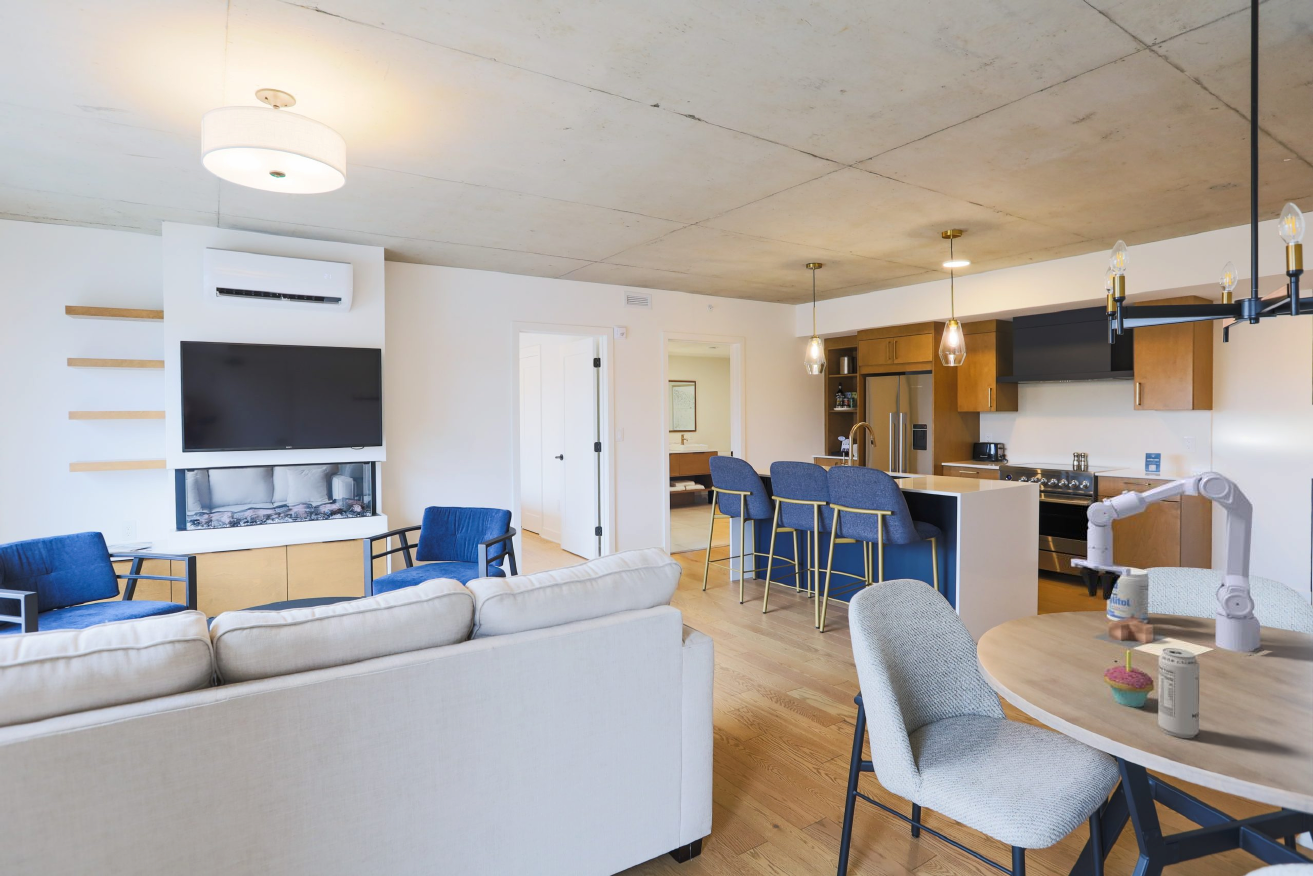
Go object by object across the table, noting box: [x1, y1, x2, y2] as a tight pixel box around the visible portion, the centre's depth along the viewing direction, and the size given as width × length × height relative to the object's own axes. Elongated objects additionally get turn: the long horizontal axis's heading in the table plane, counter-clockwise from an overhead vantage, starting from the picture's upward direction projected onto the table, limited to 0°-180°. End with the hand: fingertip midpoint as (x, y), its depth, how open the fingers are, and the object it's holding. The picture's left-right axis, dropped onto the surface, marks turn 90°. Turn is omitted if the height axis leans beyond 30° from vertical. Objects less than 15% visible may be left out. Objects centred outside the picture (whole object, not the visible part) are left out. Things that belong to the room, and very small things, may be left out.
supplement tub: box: [1106, 566, 1150, 624], centre depth 194 cm, size 10×10×15 cm
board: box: [1092, 631, 1215, 657], centre depth 174 cm, size 16×20×1 cm
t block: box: [1108, 617, 1154, 643], centre depth 177 cm, size 7×10×4 cm
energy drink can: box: [1157, 648, 1200, 739], centre depth 127 cm, size 6×6×15 cm
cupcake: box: [1103, 647, 1155, 708], centre depth 141 cm, size 9×8×12 cm
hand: (1099, 597), depth 185 cm, fingers open, 3 cm apart
